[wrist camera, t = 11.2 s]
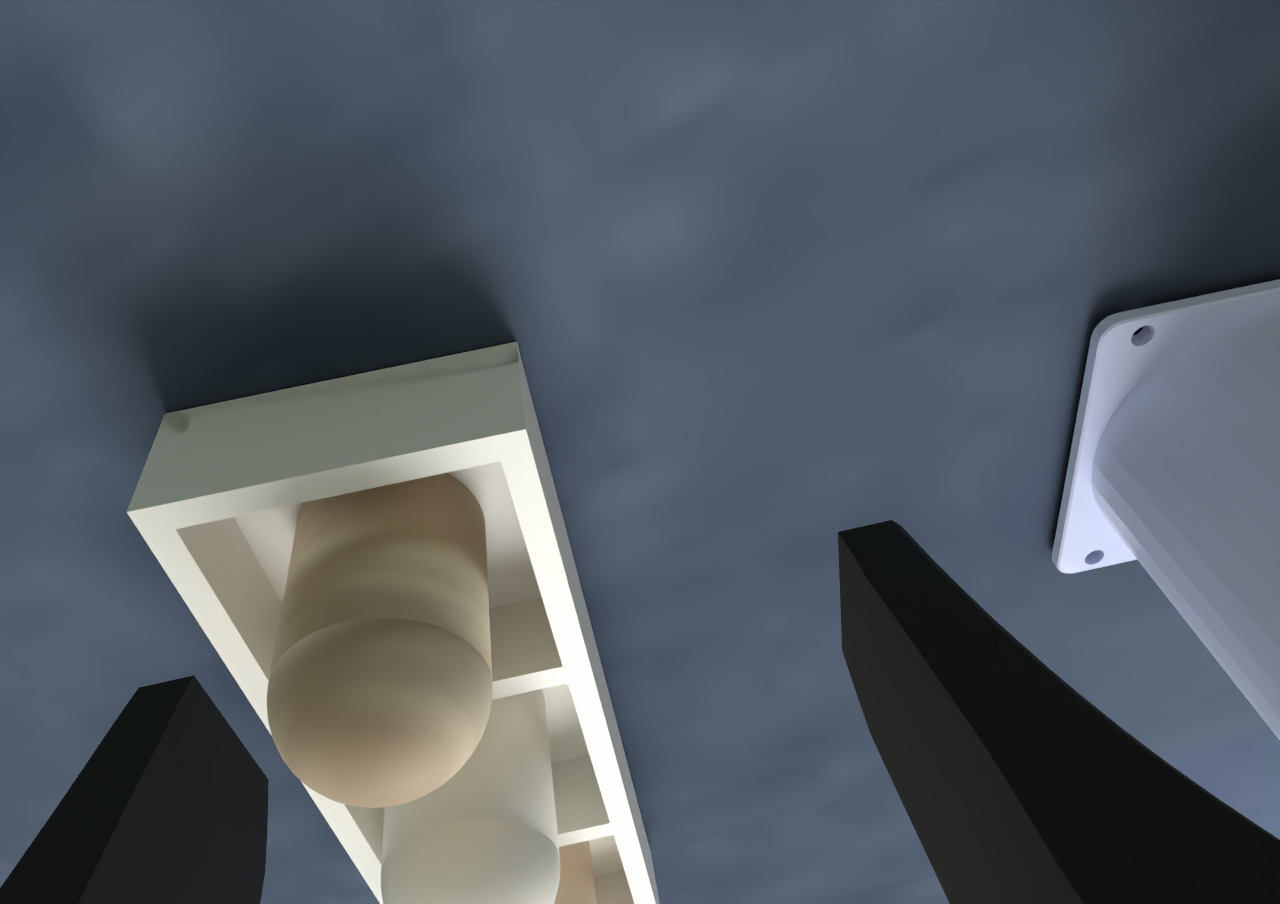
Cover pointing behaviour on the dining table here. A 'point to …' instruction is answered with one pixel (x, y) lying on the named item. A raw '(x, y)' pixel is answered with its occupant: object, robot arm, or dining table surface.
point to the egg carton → (518, 610)
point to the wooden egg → (383, 642)
